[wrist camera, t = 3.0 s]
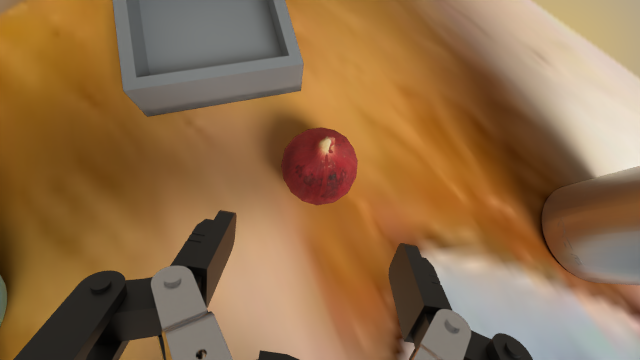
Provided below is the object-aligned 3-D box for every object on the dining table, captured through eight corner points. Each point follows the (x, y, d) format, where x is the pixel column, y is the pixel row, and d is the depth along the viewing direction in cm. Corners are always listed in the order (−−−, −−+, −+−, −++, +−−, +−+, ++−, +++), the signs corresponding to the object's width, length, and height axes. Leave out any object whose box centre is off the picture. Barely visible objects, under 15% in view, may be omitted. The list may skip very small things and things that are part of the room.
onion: (352, 205, 26) (382, 181, 18) (288, 217, 25) (291, 197, 17) (338, 145, 27) (359, 99, 19) (276, 154, 26) (274, 109, 18)
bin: (269, -21, 31) (267, -60, 28) (300, 90, 28) (303, 63, 24) (130, -8, 29) (106, -49, 25) (147, 116, 26) (123, 91, 22)
